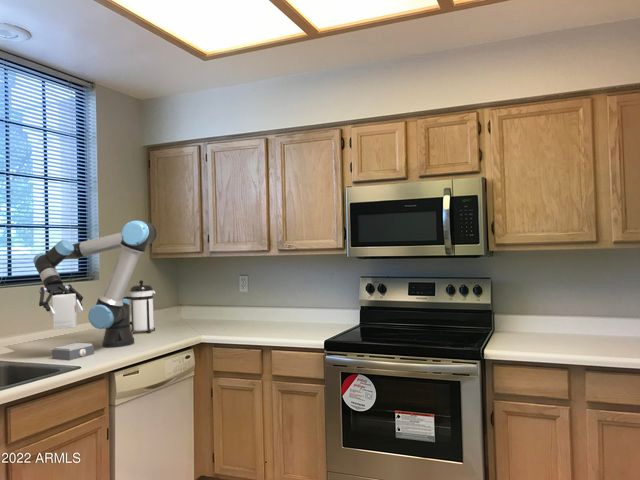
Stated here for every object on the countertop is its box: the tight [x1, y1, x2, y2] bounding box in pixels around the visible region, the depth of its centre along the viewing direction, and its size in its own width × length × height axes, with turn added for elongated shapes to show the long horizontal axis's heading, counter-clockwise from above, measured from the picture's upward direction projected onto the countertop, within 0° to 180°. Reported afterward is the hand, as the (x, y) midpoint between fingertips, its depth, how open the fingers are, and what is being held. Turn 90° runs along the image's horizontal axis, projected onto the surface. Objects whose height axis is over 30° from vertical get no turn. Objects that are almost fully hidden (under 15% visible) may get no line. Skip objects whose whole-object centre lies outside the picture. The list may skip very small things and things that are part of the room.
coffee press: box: [122, 279, 156, 335], centre depth 295 cm, size 17×16×30 cm
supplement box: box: [51, 294, 78, 330], centre depth 235 cm, size 9×9×15 cm
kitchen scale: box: [51, 342, 95, 361], centre depth 233 cm, size 13×12×5 cm
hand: (67, 313), depth 233 cm, fingers closed on supplement box, 12 cm apart
